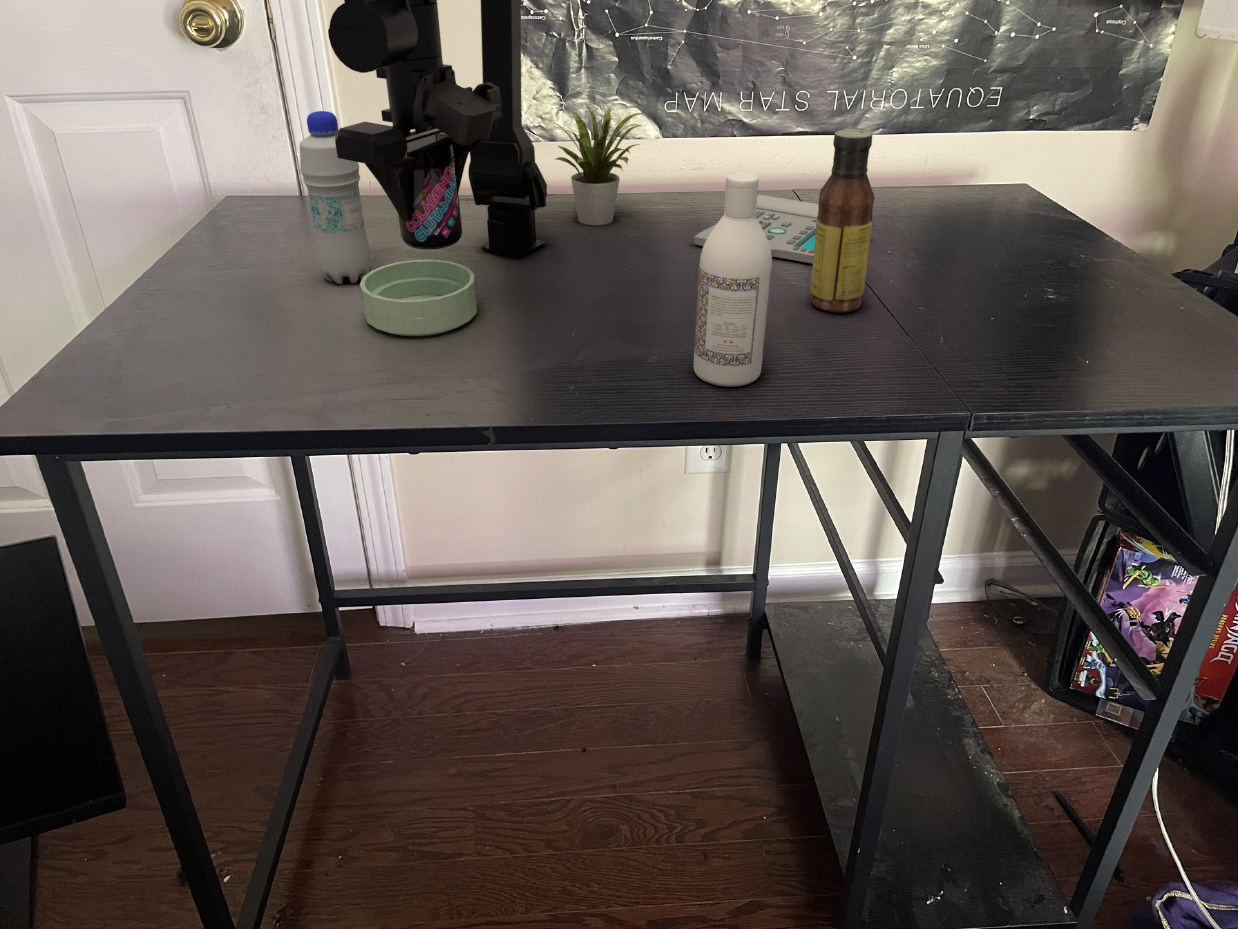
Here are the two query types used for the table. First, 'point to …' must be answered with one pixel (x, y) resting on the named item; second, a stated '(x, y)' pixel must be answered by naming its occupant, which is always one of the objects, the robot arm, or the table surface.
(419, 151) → the supplement container
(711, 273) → the bath foam
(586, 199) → the house plant
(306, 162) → the bottle
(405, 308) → the bowl
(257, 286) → the table surface
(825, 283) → the sauce bottle
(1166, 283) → the table surface
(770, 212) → the office telephone
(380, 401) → the table surface
